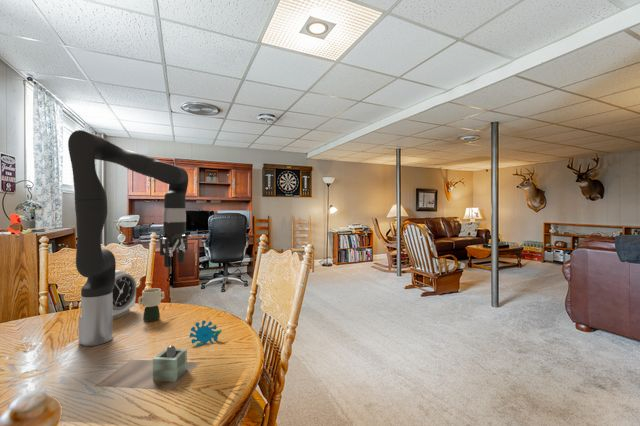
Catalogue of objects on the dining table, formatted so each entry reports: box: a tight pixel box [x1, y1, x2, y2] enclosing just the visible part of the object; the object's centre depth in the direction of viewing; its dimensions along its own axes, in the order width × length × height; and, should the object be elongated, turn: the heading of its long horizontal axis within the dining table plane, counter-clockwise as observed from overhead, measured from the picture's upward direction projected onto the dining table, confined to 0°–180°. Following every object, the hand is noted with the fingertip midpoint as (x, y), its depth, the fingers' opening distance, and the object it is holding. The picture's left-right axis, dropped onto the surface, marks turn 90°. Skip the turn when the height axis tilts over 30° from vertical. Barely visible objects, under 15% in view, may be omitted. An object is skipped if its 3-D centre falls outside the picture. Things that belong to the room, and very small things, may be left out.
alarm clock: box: [113, 269, 137, 320], centre depth 135 cm, size 18×8×20 cm, turn 170°
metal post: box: [166, 345, 177, 358], centre depth 87 cm, size 2×2×8 cm
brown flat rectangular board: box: [95, 359, 200, 391], centre depth 88 cm, size 22×14×1 cm, turn 86°
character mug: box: [137, 287, 165, 322], centre depth 131 cm, size 11×7×13 cm, turn 145°
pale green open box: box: [152, 347, 188, 382], centre depth 87 cm, size 6×6×6 cm
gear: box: [189, 320, 223, 348], centre depth 110 cm, size 11×6×10 cm
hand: (174, 264), depth 112 cm, fingers open, 8 cm apart
